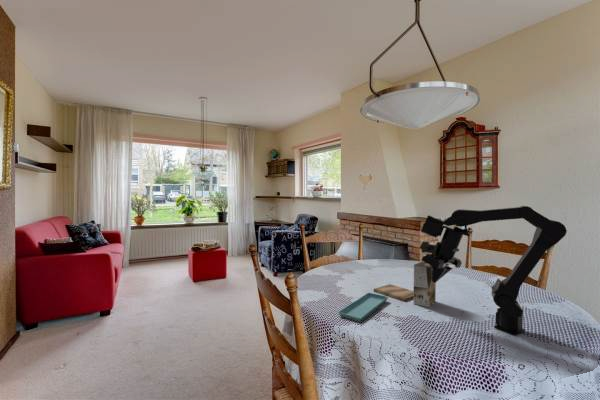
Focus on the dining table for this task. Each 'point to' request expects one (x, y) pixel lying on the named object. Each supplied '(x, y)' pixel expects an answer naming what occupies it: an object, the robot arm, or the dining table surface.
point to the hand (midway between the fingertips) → (433, 282)
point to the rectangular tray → (363, 306)
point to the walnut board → (395, 292)
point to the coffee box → (423, 285)
